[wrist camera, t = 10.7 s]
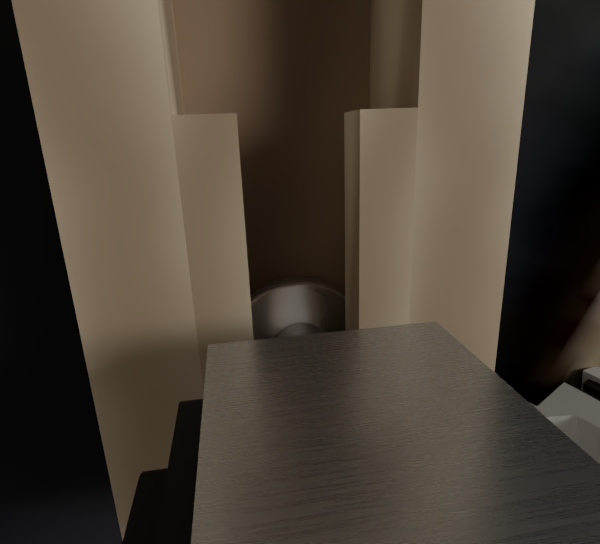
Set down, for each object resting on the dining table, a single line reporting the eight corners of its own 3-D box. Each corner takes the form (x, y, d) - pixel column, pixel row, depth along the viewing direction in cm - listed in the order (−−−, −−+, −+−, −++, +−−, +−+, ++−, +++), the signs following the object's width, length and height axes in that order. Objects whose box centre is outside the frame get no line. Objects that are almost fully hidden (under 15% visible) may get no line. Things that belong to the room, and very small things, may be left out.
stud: (367, 261, 14) (726, 574, 4) (365, 392, 16) (625, 868, 6) (213, 273, 14) (178, 692, 3) (227, 410, 15) (230, 991, 5)
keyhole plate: (455, -179, 12) (572, -338, 8) (422, 421, 18) (479, 504, 14) (39, -208, 11) (-77, -423, 7) (151, 459, 17) (127, 565, 13)
